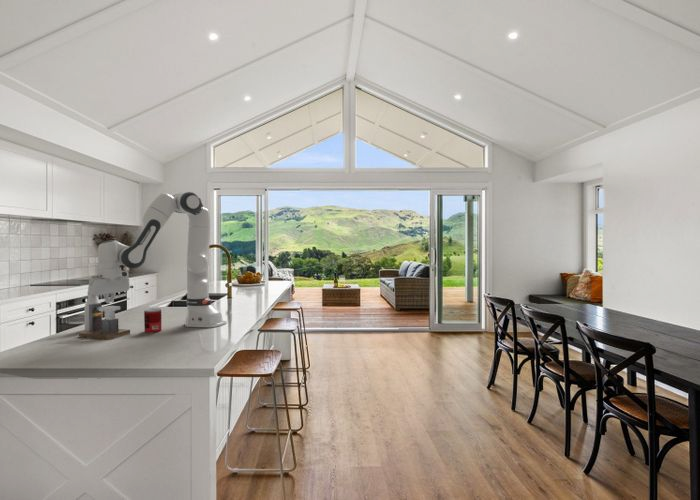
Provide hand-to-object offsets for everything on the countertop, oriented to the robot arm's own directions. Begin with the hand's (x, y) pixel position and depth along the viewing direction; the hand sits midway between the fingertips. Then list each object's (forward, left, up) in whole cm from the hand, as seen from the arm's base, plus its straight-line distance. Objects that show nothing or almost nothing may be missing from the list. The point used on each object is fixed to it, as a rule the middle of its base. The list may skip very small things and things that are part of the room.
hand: (109, 302), depth 205 cm
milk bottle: (+20, -7, -16) cm, 26 cm away
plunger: (+3, 0, -10) cm, 10 cm away
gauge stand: (+4, 0, -16) cm, 16 cm away
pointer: (+7, 0, -6) cm, 10 cm away
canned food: (-11, -15, -16) cm, 25 cm away
